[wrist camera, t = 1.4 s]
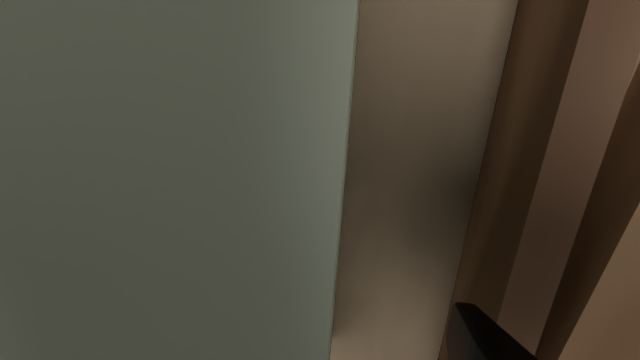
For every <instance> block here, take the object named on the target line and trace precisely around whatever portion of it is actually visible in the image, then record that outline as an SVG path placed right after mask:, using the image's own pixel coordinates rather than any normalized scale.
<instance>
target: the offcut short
mask: <svg viewBox="0 0 640 360" xmlns="http://www.w3.org/2000/svg"><path fill="white" fill-rule="evenodd" d="M534 356H535V357H536V358H537V359H538V360H640V62H639V64H638V67H637V69H636V71H635V73H634V76H633V78H632V80H631V82H630V85H629V87H628V89H627V91H626V93H625V96H624V99H623V102H622V105H621V108H620V111H619V113H618V116H617V119H616V122H615V125H614V128H613V131H612V134H611V136H610V139H609V142H608V145H607V148H606V151H605V154H604V157H603V160H602V162H601V165H600V168H599V171H598V174H597V177H596V180H595V183H594V185H593V188H592V191H591V194H590V197H589V200H588V203H587V206H586V208H585V211H584V214H583V217H582V220H581V223H580V226H579V229H578V232H577V234H576V237H575V240H574V243H573V246H572V249H571V252H570V255H569V257H568V260H567V263H566V266H565V269H564V272H563V275H562V278H561V280H560V283H559V286H558V289H557V292H556V295H555V298H554V301H553V304H552V306H551V309H550V312H549V315H548V318H547V321H546V324H545V327H544V329H543V332H542V335H541V338H540V341H539V344H538V347H537V350H536V352H535V355H534Z"/></svg>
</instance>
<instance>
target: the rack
mask: <svg viewBox="0 0 640 360" xmlns="http://www.w3.org/2000/svg"><path fill="white" fill-rule="evenodd" d="M639 53H640V0H519V3H518V8H517V12H516V16H515V21H514V25H513V30H512V34H511V39H510V43H509V48H508V52H507V56H506V61H505V65H504V70H503V74H502V79H501V83H500V88H499V92H498V96H497V101H496V105H495V110H494V114H493V119H492V123H491V127H490V132H489V136H488V141H487V145H486V150H485V154H484V159H483V163H482V167H481V172H480V176H479V181H478V185H477V190H476V194H475V199H474V203H473V207H472V212H471V216H470V221H469V225H468V230H467V234H466V239H465V243H464V247H463V252H462V256H461V261H460V265H459V270H458V274H457V279H456V283H455V287H454V292H453V296H452V301H451V305H450V310H449V314H448V319H447V323H446V327H445V332H444V336H443V341H442V345H441V350H440V354H439V358H438V360H448V354H447V347H446V330H447V325H448V321H449V316H450V312H451V308H452V305H453V303H455V302H465V303H473V304H475V305H476V306H478V307H479V308H480V309H481V310H482V311H483V312H484V313H486V314H487V315H488V316H489V317H490V318H491V319H492V320H494V321H495V322H496V323H497V324H498V325H499V326H500V327H502V328H503V329H504V330H505V331H506V332H507V333H509V334H510V335H511V336H512V337H513V338H514V339H515V340H517V341H518V342H519V343H520V344H521V345H522V346H523V347H525V348H526V349H527V350H528V351H529V352H530V353H531V354H533V355H535V352H536V350H537V347H538V344H539V341H540V338H541V335H542V332H543V329H544V327H545V324H546V321H547V318H548V315H549V312H550V309H551V306H552V304H553V301H554V298H555V295H556V292H557V289H558V286H559V283H560V280H561V278H562V275H563V272H564V269H565V266H566V263H567V260H568V257H569V255H570V252H571V249H572V246H573V243H574V240H575V237H576V234H577V232H578V229H579V226H580V223H581V220H582V217H583V214H584V211H585V208H586V206H587V203H588V200H589V197H590V194H591V191H592V188H593V185H594V183H595V180H596V177H597V174H598V171H599V168H600V165H601V162H602V160H603V157H604V154H605V151H606V148H607V145H608V142H609V139H610V136H611V134H612V131H613V128H614V125H615V122H616V119H617V116H618V113H619V111H620V108H621V105H622V102H623V99H624V96H625V93H626V90H627V88H628V85H629V82H630V79H631V76H632V73H633V70H634V67H635V64H636V62H637V59H638V56H639Z"/></svg>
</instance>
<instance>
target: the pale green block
mask: <svg viewBox="0 0 640 360" xmlns="http://www.w3.org/2000/svg"><path fill="white" fill-rule="evenodd" d="M359 9H360V0H0V360H330V351H331V340H332V328H333V317H334V305H335V293H336V282H337V270H338V258H339V246H340V235H341V223H342V211H343V199H344V188H345V176H346V164H347V152H348V141H349V129H350V117H351V105H352V94H353V82H354V70H355V59H356V47H357V35H358V23H359Z"/></svg>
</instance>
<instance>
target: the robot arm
mask: <svg viewBox="0 0 640 360" xmlns="http://www.w3.org/2000/svg"><path fill="white" fill-rule="evenodd" d="M446 347H447V354H448V360H538V359H537V358H536V357H535V356H534V355H533V354H531V353H530V352H529V351H528V350H527V349H526V348H525V347H523V346H522V345H521V344H520V343H519V342H518V341H517V340H515V339H514V338H513V337H512V336H511V335H510V334H509V333H507V332H506V331H505V330H504V329H503V328H502V327H500V326H499V325H498V324H497V323H496V322H495V321H494V320H492V319H491V318H490V317H489V316H488V315H487V314H486V313H484V312H483V311H482V310H481V309H480V308H479V307H478V306H476V305H475V304H473V303H465V302H455V303H453V305H452V308H451V312H450V316H449V321H448V325H447V330H446Z"/></svg>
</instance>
